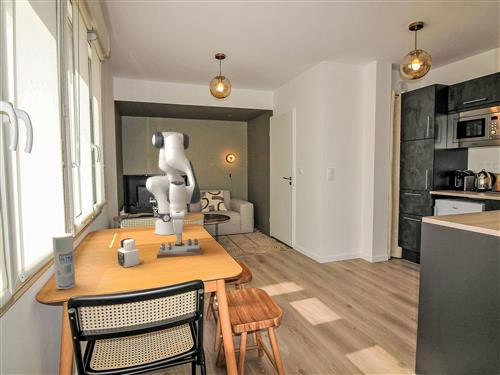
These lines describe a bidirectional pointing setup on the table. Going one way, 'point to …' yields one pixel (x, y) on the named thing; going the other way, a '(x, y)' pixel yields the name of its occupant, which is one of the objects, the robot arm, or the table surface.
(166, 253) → the chain base
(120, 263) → the medicine bottle
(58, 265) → the spray can
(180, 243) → the pin
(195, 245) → the chain end right
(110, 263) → the table surface
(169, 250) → the chain end left
